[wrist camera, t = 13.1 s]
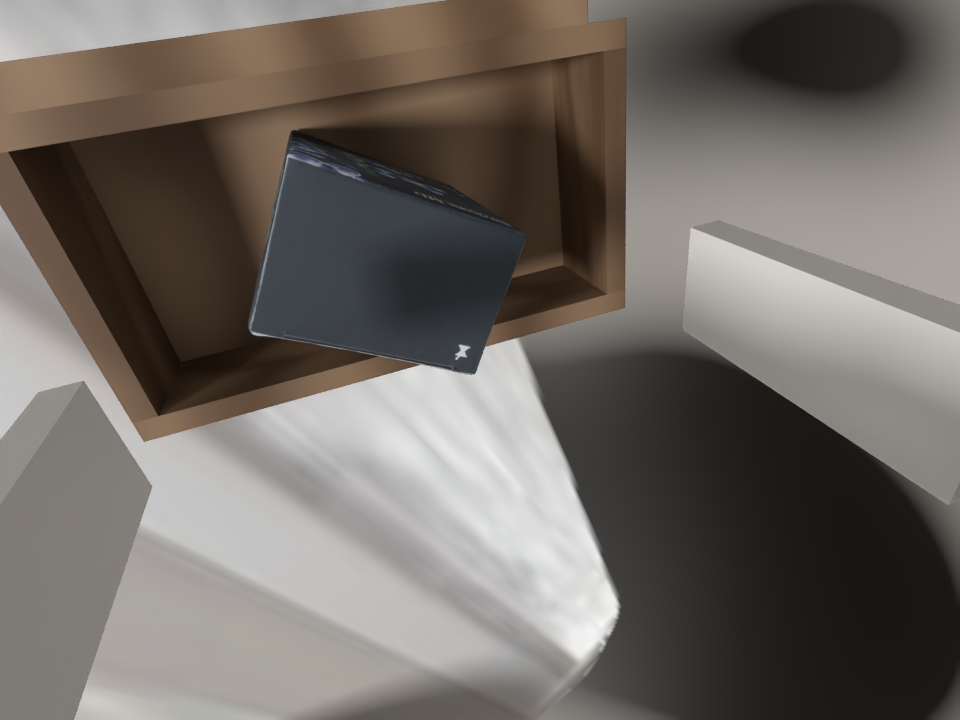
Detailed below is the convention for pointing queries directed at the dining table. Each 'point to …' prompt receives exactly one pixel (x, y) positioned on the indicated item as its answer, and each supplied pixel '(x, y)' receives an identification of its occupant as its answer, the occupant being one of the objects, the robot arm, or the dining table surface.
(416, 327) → the box
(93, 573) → the robot arm
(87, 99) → the tray
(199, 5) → the dining table surface
